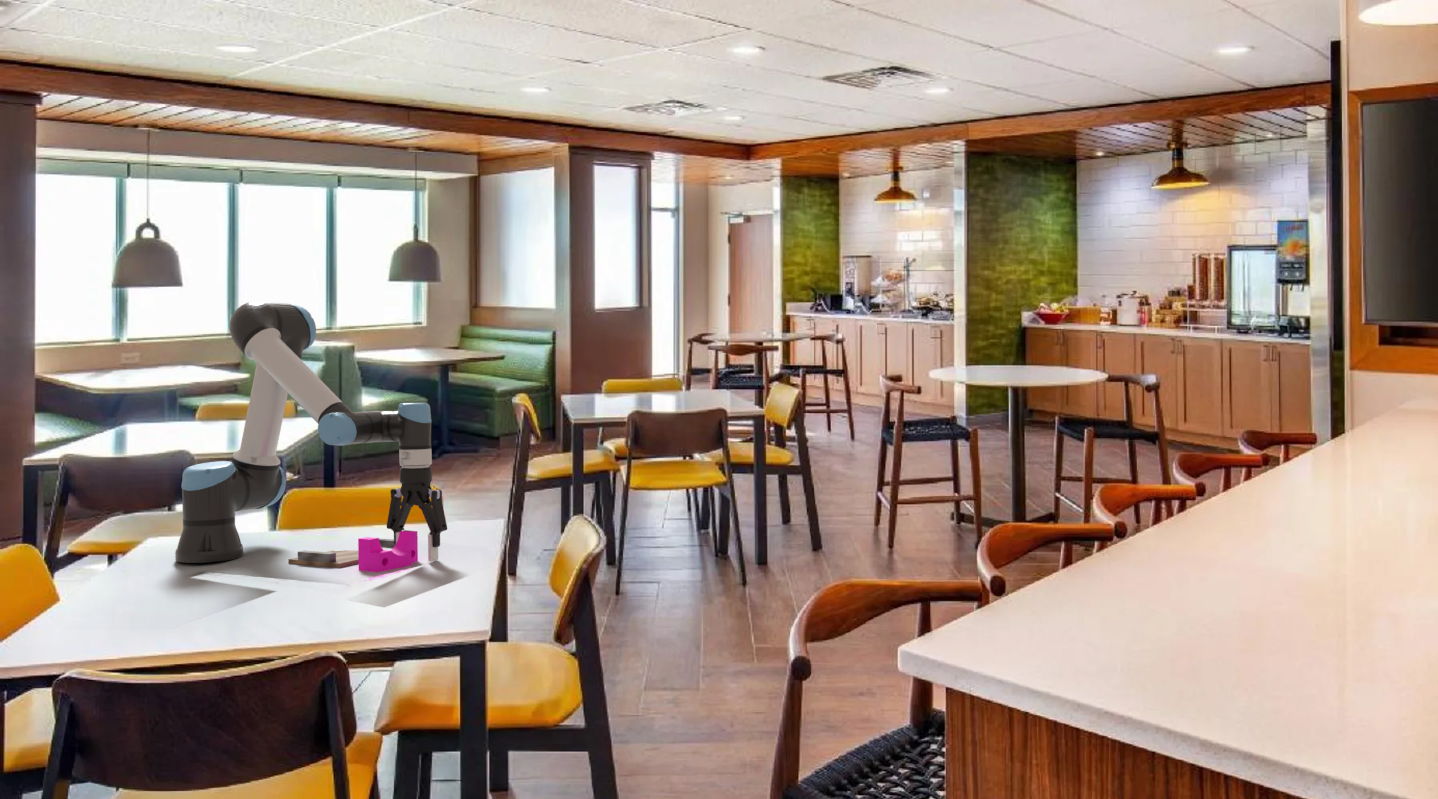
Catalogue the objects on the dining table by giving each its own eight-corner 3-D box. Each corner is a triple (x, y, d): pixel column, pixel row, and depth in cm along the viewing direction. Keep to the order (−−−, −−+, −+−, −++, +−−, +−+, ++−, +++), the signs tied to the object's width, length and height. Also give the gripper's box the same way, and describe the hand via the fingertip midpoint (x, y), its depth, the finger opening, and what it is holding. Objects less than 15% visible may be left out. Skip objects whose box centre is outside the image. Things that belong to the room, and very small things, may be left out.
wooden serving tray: (288, 563, 254) (288, 550, 254) (360, 548, 276) (360, 537, 276) (339, 567, 248) (339, 554, 248) (409, 552, 269) (409, 540, 269)
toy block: (378, 573, 241) (378, 540, 241) (358, 571, 244) (358, 538, 244) (425, 562, 255) (425, 531, 255) (406, 561, 258) (405, 530, 257)
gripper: (369, 466, 258) (371, 559, 258) (441, 468, 249) (443, 564, 249) (391, 464, 265) (392, 554, 265) (462, 466, 256) (463, 559, 256)
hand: (417, 559), depth 257 cm, fingers open, 9 cm apart
